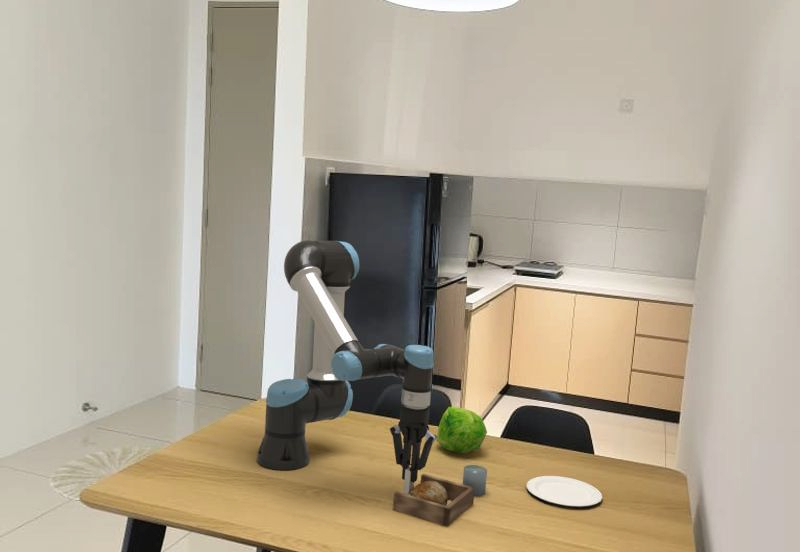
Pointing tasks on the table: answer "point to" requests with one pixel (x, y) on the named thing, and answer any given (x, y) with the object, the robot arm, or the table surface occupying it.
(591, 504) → the plate
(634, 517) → the table surface
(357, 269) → the robot arm
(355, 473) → the table surface
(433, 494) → the bread roll
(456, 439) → the lettuce
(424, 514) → the corral
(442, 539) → the table surface
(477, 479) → the grey-blue cylinder
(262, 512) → the table surface
